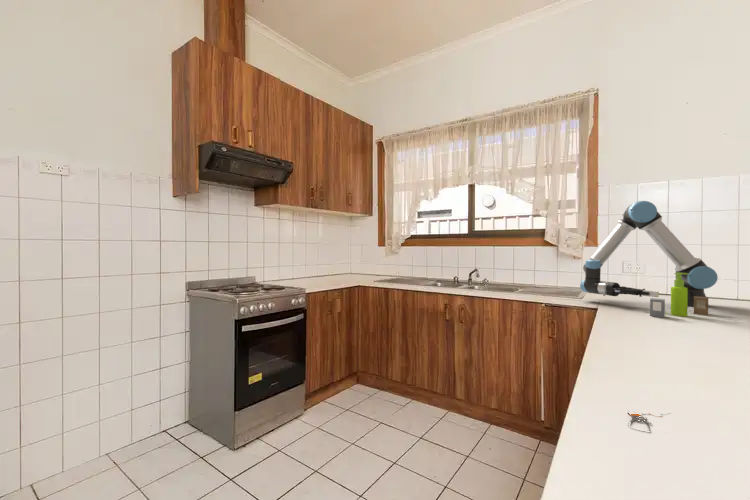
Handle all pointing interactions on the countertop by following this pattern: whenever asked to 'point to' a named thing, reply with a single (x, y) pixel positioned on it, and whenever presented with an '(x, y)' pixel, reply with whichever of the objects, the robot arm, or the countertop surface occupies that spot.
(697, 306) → the brown wooden block
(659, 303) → the grey rectangular block
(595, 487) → the countertop surface
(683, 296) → the soap dispenser
